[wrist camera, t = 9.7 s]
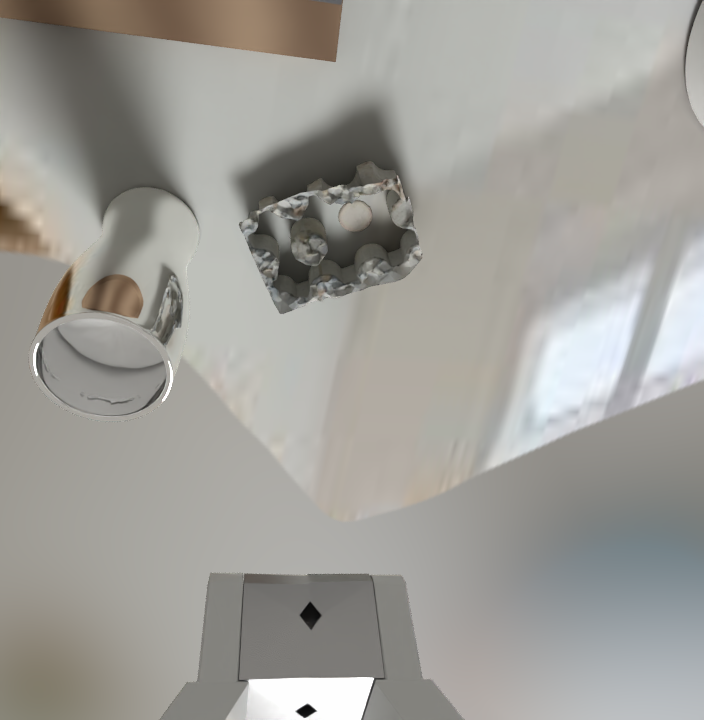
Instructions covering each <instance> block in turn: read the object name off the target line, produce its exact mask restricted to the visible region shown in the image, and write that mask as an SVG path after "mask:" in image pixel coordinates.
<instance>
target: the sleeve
mask: <svg viewBox="0 0 704 720" xmlns="http://www.w3.org/2000/svg"><path fill="white" fill-rule="evenodd" d="M312 1H319V2H325V3H332V4H339V5H342V0H312Z"/></svg>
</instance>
